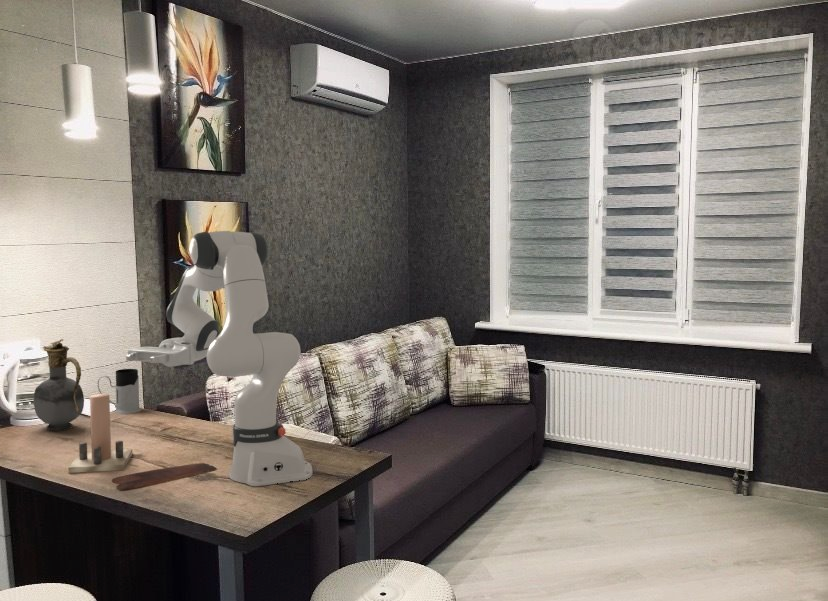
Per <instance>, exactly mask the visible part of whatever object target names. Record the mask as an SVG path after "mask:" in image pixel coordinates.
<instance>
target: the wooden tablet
mask: <svg viewBox="0 0 828 601" xmlns="http://www.w3.org/2000/svg"><path fill="white" fill-rule="evenodd" d="M215 470H217V467H215V466H214V465H210V464H209V463H204V462H199V463H190V464H183V465H177V466H170V467H169V466H168V467H163V468H157V469H151V470H144V471H140V472H135V473H130V474H125V475H120V476H116V477H114V478H112V479H111V482H112V484H114V485H116V489H117V491H121V492H122V491H128V490H134V489H139V488H143V486H144V487H149V486H153V484H154V485H158V484H162V482H163V483H167V481H168V482H171V480H172V481H176V480H180V478H181V479H184V478H190V477H193V476H197V475H202V474H205V473H209V472H213V471H215ZM189 476H190V477H189ZM157 483H158V484H157ZM148 485H149V486H148Z"/></svg>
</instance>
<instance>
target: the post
mask: <svg viewBox="0 0 828 601" xmlns="http://www.w3.org/2000/svg"><path fill="white" fill-rule="evenodd" d="M110 401H111V399H110V394H109V393H102V394H100V393H97V394H92V395H90V396H89V405H90V407H89V410H90V411H89V413H90V438H91V443H90V444H91V451H92V460H94V454H93V448H94V447H101V456H102V460H107V459H110V458H111V450H112V447H111V446H112V443H111V442H112V441H111V439H112V438H111V435H112V434H111V408H110V404H111V402H110Z"/></svg>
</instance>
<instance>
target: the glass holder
mask: <svg viewBox="0 0 828 601" xmlns="http://www.w3.org/2000/svg"><path fill="white" fill-rule="evenodd" d="M102 378H107V379H108V380H109V385H110V387H111V388H115V402H113V401H112V400H110V404H111V403H112V404H113V405H114V408H115V410H116V411H115V410H114V413H115V414H117V413H119V414H118V415H132V414H137V413H139V412H141V410H142V409H141V407H140V389H139V387H140V384H139V382H140V381H139V371H138V369H137V368H123V369H117V370H116V371H115V385H112V379H111V378H110V376H107V375H102V376H99V378H98V379H97V383H96V384H97V389H98V391H99V394H103V393H102V391H101V389H100V384H99V382H100V380H101V379H102ZM140 409H141V410H140Z"/></svg>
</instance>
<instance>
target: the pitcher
mask: <svg viewBox="0 0 828 601" xmlns="http://www.w3.org/2000/svg"><path fill="white" fill-rule="evenodd" d="M64 341H65V339H64V338H62V339H59V340H55V341H53V342H50V343H49V345H47V346H45V345H43V347H42V349H43V351H44V352H46V353H47V356H48V364H47V365H48V367H49V378H48V379H46V380H44V381H42V382H40V384H38V386H36V388H35V389H34V394H33V407H34V408H33V409H34V412H35V414H36V416H37V418H38V419H39V420H41V421H42V422H43V423H44V424H47V426H46V427H47V430H48V429H49V431H52V430H58V431H59V430H62V431H66V429H67V430H70V429H72V428H73V423H72V422H73V421H74V420H76V419H77V418H78V417H80V415H81V414H82V413H83V410H84V407H85V398H84V397H85V396H84V392H83V388H82V387H81V385H80V380H81V377H82V368H81V365H80V362H79V361H78V360H77V359H76V358H75V357H73V356H72V357H71V356H70V357H68V351H69V350H70V347H68V346H67V345H63V343H61V342H64ZM68 363H71V364H72V365H74V367H75V371H76V377H75V380H74V379H72V378H70V377H67V366H68ZM71 427H72V428H71ZM69 428H70V429H69ZM58 431H57V432H58Z"/></svg>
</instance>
